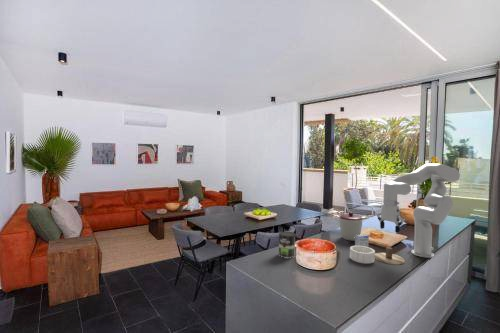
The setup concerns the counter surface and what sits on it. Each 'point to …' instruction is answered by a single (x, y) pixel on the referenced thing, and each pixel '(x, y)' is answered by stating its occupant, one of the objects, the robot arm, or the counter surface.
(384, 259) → the oak lid
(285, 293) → the counter surface
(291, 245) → the coffee can
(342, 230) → the canister
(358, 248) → the cream bowl
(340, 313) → the counter surface
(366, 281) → the counter surface
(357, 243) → the medicine box
